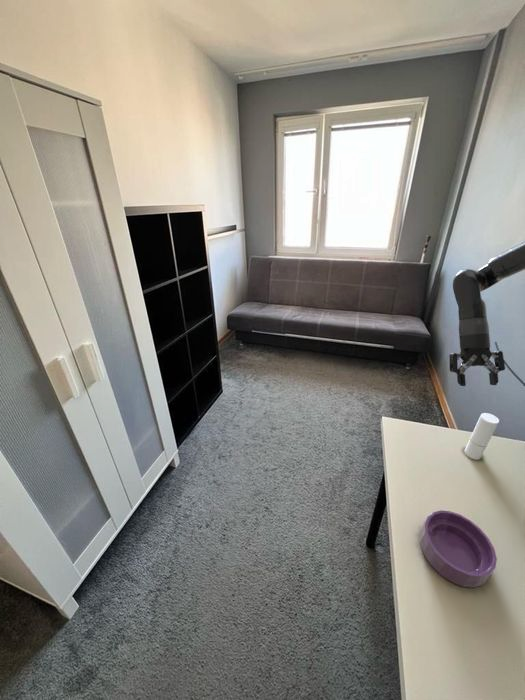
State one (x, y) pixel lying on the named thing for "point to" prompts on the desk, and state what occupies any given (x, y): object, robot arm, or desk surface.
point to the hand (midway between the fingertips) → (477, 385)
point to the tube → (481, 435)
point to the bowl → (457, 549)
